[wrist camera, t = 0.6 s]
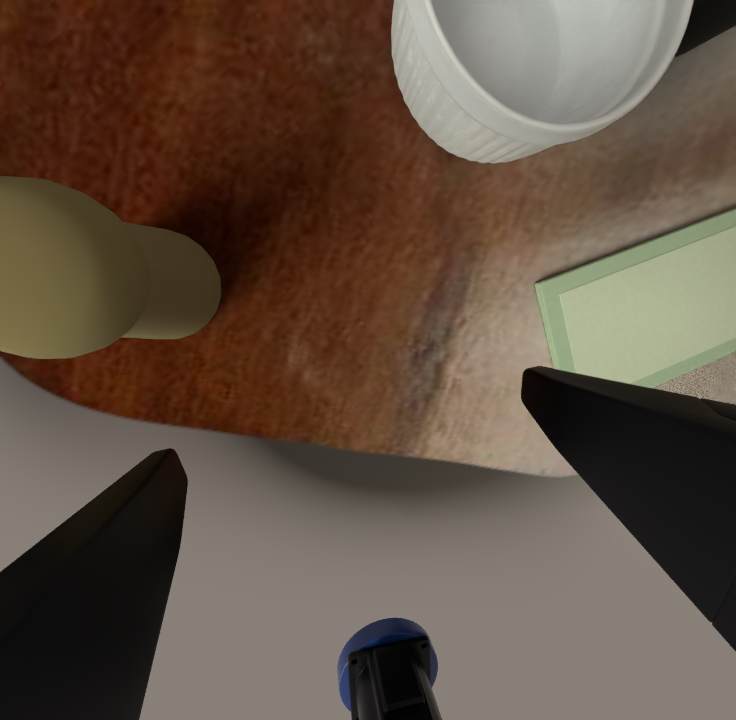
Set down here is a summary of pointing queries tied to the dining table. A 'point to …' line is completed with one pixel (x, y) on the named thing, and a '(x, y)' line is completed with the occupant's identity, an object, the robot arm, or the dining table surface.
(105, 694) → the robot arm
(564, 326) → the mat
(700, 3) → the cup
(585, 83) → the ramekin
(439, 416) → the dining table surface
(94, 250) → the olive pawn
